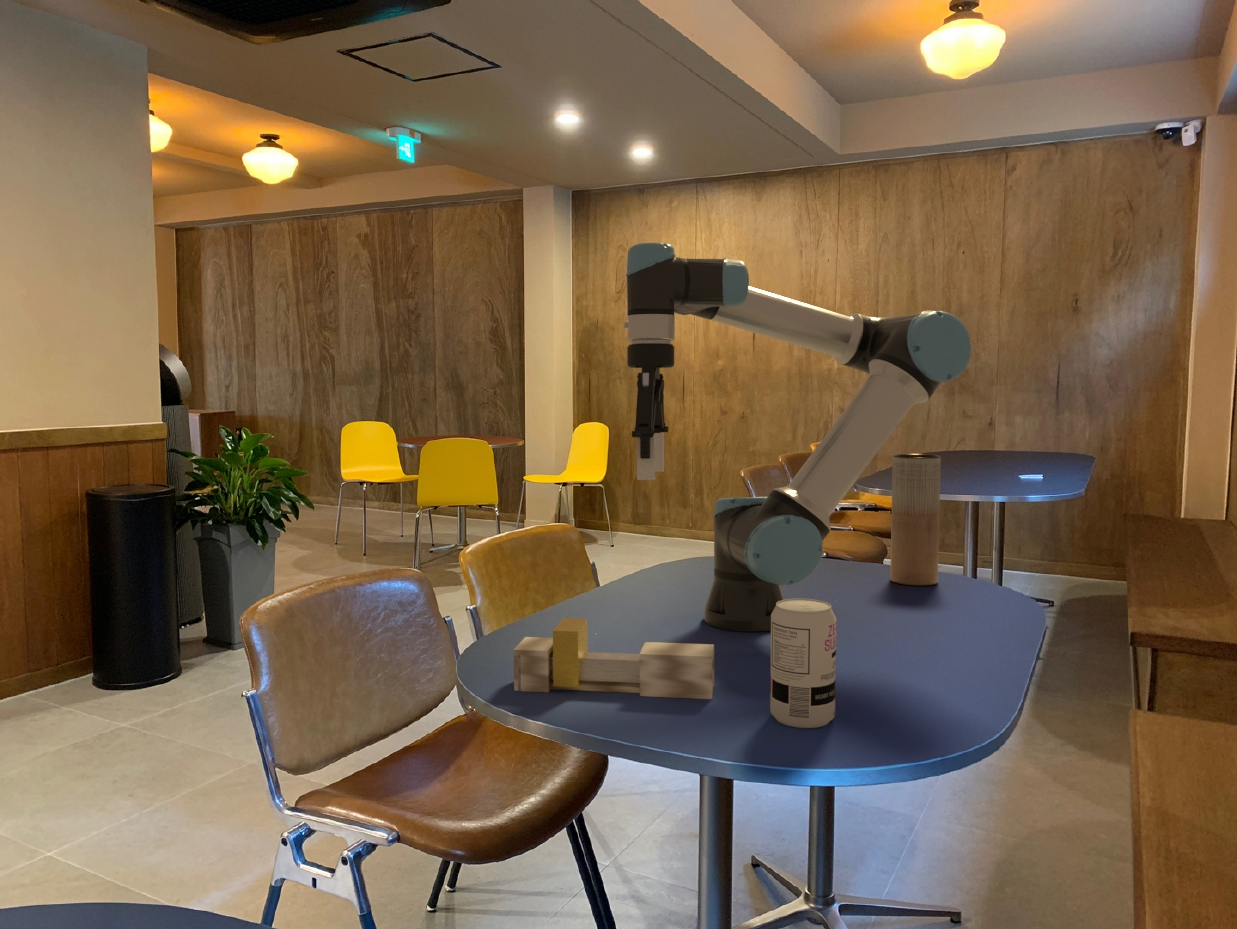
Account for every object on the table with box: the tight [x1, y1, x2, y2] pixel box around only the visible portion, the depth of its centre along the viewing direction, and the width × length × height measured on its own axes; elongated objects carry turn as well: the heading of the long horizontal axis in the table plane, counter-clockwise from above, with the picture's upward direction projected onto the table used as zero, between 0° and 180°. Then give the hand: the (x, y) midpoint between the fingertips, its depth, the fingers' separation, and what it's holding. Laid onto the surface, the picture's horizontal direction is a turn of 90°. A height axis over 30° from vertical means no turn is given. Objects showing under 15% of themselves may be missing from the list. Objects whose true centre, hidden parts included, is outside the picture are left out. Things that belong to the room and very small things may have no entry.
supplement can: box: [769, 598, 837, 729], centre depth 117 cm, size 8×8×15 cm
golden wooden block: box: [550, 617, 640, 687], centre depth 130 cm, size 20×7×8 cm, turn 81°
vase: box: [889, 453, 942, 587], centre depth 198 cm, size 10×10×28 cm
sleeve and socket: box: [513, 636, 715, 700], centre depth 130 cm, size 28×7×6 cm, turn 81°
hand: (651, 475), depth 146 cm, fingers open, 13 cm apart
